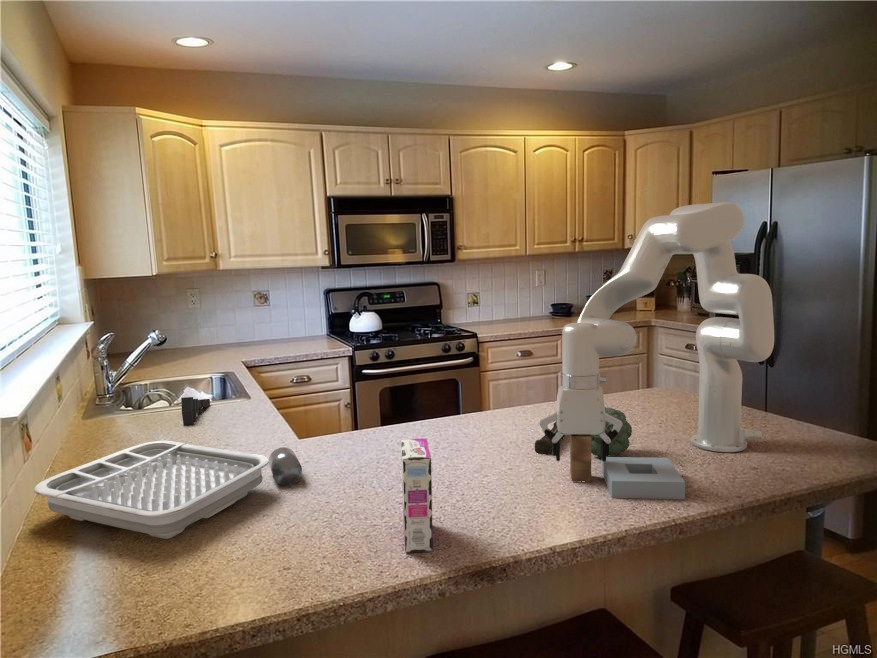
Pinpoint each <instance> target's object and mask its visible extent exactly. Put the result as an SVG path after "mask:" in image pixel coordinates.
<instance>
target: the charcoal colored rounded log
mask: <svg viewBox="0 0 877 658" xmlns="http://www.w3.org/2000/svg"><path fill="white" fill-rule="evenodd" d="M556 429H557V427H556V421H554V423H553V427H552V428H551V429H550V430H551V431H552V432H553V433H554V432H555V431H556ZM565 437H566V435H563V436H562V437H561V438H560V439H562V440H564V439H565ZM563 438H564V439H563ZM560 439H559V441H560ZM551 450H553V442H552V441H551V440H550V439H549V438H548V437H547V436H546V435H545V434H544V435H543V436H542V437H541V438H540V439H536V440H535V442H534V451H535V453H536V454H537V453H538V455H543V454H546V455H549V454H550V453H551ZM546 455H545V456H546Z"/></svg>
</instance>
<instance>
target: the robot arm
mask: <svg viewBox="0 0 877 658" xmlns="http://www.w3.org/2000/svg"><path fill="white" fill-rule="evenodd" d="M744 223H745V216H744V213H743V210H742V209H741V208H740V207H739V205H737V204H736V203H733V202H730V201H728V202H727V201H723V202H721V201H720V202H712V203H695V204H689V205H688V204H687V205H682V206H679V207H677V208H674V209H673V210H672V211H671V212H670V213H669V214H667V215H658V216H653V217H651V218H649V219H647V220H646V221H645V222H644V224H643V225H642V226H641V228H640V231H639V233H638V235H637V237H636V238H635V240H634V242H633V244H632V246H631V249H630V251H629V253H628V254H627V257H626V258H625V260H624V262H623V264H622V265H621V268H620V269H619V271H618V272H617V273H616V274H615V275H614V276H613V277H611V278H610V279H608V281H607V282H605V283H604V284H603V285H602V286H601V287H600V288H598V289H597V290H596V291H595V292H594V293H593V294H592V295H591V296H590V298H589V299H588V301H587V302H586V303H585V305H584V307H583V309H582V311H581V313H580V314H579V317H578V319H577V322H572V323H567V324H565V325H564V326H563V328H562V334H561V336H562V337H561V339H562V345H561V347H562V348H561V349H562V351H561V353H562V357H561V358H562V361H561V362H562V367H561V368H562V376H561V377H562V378H561V379H562V382H561V383H562V385H560V386H558V389H557V393H556V394H557V396H556V406H555V413H552V414H551V415H548V416H547V417H544V418H543V419H540V420H539V421H538V422H539V426H540V428H541V429H542V432H544V436H545V435H546V436H547V437H548V438H549V439H550V440H551V441H552V442H553V448H552V457H555V460H556V462H560V461H561V442H560V440H559V439H560V438H561V437H562V436H563V435H565V436H570V435H600V437H601V438H602V440H601V458H600V459H601V462H602V461H603V462H606V457H610V456H609V443H610V442H611V440H612V439H614V438H615V437H616V436H617V435H618V432H619V431H620V429H621V427H622V425H623V423H622V422H621V421H620V420H618V419H616V418H614V417H612V416H610V415H608V414H606V413H605V407H606V406H605V399H604V390H603V387H602V386H600V384H601V383H606V382H607V376H606V375H601V374H600V357H604V356H605V357H620V356H624V355H627V354H629V353H631V351H633V349H634V348H635V346H636V344H637V341H638V339H637V338H638V336H637V332H636V330H635V329H634V327H633V326H632V325H631V324H629V323H627V322H624V321H621V320H614V319H611V316H612V315H613V314H614V313H615V312H616V311H617V310H618V309H619V308H621V307H622V306H623V305H625V304H627V303H629V302H631V301H633V300H637V299H639V298H641V297H644V296H645V295H648V294H650V293H651V292H653V291H654V290H656V288H657V286H658V284H659V282H660V280H661V278H662V277H663V275H664V272H665V270H666V268H667V266H668V264H669V263H670V261H671V258H672V257H673V256H674V255H691V254H692V255H693V257H694V262H695V268H696V279H697V290H698V297H699V303H700V305H701V307H702V309H703V310H705V311H706V312H710V313H714V314H723V315H724V314H725V315H734V316H738V318H736V317H735V318H733V317H723V316H715V317H714V316H713V317H710V318H706V319H705V320H703V321H702V322H701V323H700V324H699V325H698V327H697V329H696V333H695V344H696V348H697V352H698V353H697V355H698V361H699V362H698V363H699V365H698V366H699V376H698V377H699V378H698V379H699V382H698V383H699V384H698V412H697V413H698V419H697V420H698V423H697V433H696V434H695V433H694V434H693V435H691V438H690V442H691V444H692V445H693V446H695V447H696V448H699V449H702V450H706V451H712V452H718V453H735V452H736V453H737V452H741V451H745V450H746V449H747V448H748V441H749V439H753V440H762V439H763V434H762V431H761V430H753V429H751V428H750V429H748V428H747V429H745V428H743V427H742V425H741V424H742V423H741V421H742V396H743V394H742V392H743V391H742V390H743V372H742V369H741V366H740V364H739V362H738V361H744V362H750V363H759V362H764V361H765V360H767V359H768V358H769V357H770V356H771V355H772V352H773V350H774V348H775V347H774V345H775V324H774V323H775V322H774V307H773V294H772V290H771V287H770V285H769V284H768V281H766V279H765V278H763V277H762V276H760V275H757V274H752V273H739V272H738V270H737V264H736V258H735V257H736V255H735V250H734V248H733V245H732V243H731V241H733V240H734V239H736V238H737V237H738V236H739V235H740V233H741V232H742V230H743V226H744ZM606 421H607V422H609V423H611V424H613V425H614V426H613V428H612V429H611V430H610V431H609V432H608V433H606V432H605V428H606ZM553 422H554V423H555V422H556V427H557V429H556V431H555V432H554V433H553V432H552V431H551V429H550V428H549V426H548V425H550V424H552V423H553Z"/></svg>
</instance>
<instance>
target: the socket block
mask: <svg viewBox="0 0 877 658" xmlns="http://www.w3.org/2000/svg"><path fill="white" fill-rule="evenodd" d="M601 475H602V477H603V476H604V477H603V479H605V480H604V482H605V485H606V484H607V485H606V487H607V489H609V490H608V492H609V495H610V497H611V498H613V497H614V498H615V499H652V500H653V499H655V500H656V499H658V500H686V481H685V480H684V478H683V477H682V476H681V474H680V473H679V472H678V470H677V469H676V467H675V466H674V464H673V462H672V461H671V460H670V459H669V458H668V457H646V456H645V457H640V456H639V457H638V456H636V457H631V456H629V457H627V456H625V457H624V456H623V457H622V456H609V457H606V462H603V461H602V460H601ZM614 498H613V499H614Z"/></svg>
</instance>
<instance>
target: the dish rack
mask: <svg viewBox="0 0 877 658" xmlns="http://www.w3.org/2000/svg"><path fill="white" fill-rule="evenodd" d="M268 465H269V457H267V456H265V455H264V454H257V453H250V452H243V451H237V450H230V449H224V448H216V447H210V446H204V445H203V446H202V445H195V444H188V443H187V442H181V441H172V440H156V441H155V440H154V441H149V442H144V443H140V444H136V445H134V446H131V447H128V448H125V449H122V450H119V451H116V452H114V453H110V454H109V455H105V456H102V457H101V458H98V459H96V460H93V461H90V462H88V463H85V464H81V465H79V466H76V467H74V468H71V469H68V470H66V471H63V472H61V473H57V474H55V475H53V476H51V477H48V478H46V479H44V480H42V481H40V482H39V483H37V484H36V485H35V487H34V489H33V491H34V493H35V494H36V495H39V496H42V497H46V498H47V503H48V504H47V505H48V509H49V511H51V512H54V513H57V514H61V515H64V516H67V517H68V516H69V518H70V519H73V520H76V521H80V522H83V521H89V522H92V523H97V524H101V525H106V526H109V527H114V528H119V529H125V530H129V531H134V532H137V533H142V534H143V533H144V534H148V535H149V536H151V537H155V538H160V539H164V540H167V539H171V538H174V537H175V536H177V535H179V534H181V533H183V531H185V529H186V527H188V526H190V525H192V524H193V523H195V522H197V521H199V520H201V519H208V518H211V517H213V516H214V515H215V514H218V513H219V512H221V511H222V510H224V509H227V507H230V506H232V505H233V504H235V503H236V502H237V501H239V500H241V499H243V498H245V497H246V496H247V495H248V492H250V491H252V490H253V489H255V488H257V487H258V486H260V485H261V484H262V483H263V480H264V479H263V475H262V472H263V471H262V469H263V468H265V467H266V466H268Z"/></svg>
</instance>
